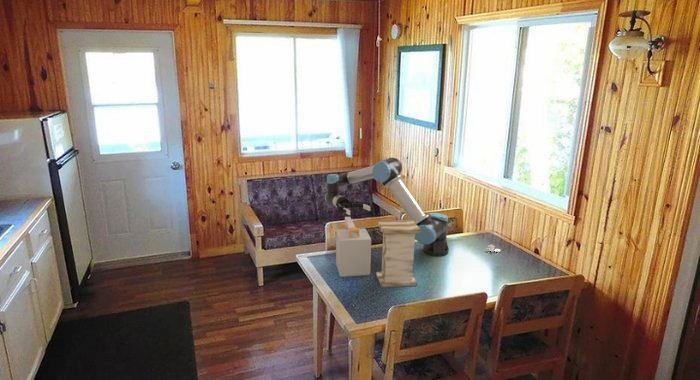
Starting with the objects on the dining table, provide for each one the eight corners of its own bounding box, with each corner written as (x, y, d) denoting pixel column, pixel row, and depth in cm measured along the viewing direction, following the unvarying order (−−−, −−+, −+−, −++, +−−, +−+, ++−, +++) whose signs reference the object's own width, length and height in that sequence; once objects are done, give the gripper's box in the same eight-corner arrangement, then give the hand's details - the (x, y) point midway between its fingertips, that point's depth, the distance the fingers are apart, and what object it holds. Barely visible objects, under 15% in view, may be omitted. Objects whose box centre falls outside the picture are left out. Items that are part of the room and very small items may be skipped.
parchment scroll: (375, 274, 236) (377, 221, 228) (409, 272, 239) (412, 219, 231) (382, 287, 223) (384, 230, 215) (417, 285, 226) (420, 229, 217)
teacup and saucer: (501, 251, 269) (502, 245, 268) (497, 256, 263) (498, 249, 262) (486, 248, 274) (487, 242, 273) (482, 252, 268) (483, 246, 267)
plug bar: (343, 221, 255) (343, 215, 254) (351, 221, 256) (351, 214, 255) (350, 237, 232) (350, 230, 231) (359, 237, 233) (359, 229, 232)
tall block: (364, 261, 251) (365, 228, 246) (370, 274, 236) (371, 239, 231) (335, 263, 249) (336, 229, 243) (339, 276, 233) (340, 240, 228)
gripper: (358, 205, 282) (377, 213, 265) (323, 211, 270) (341, 220, 252) (358, 193, 281) (377, 200, 263) (323, 199, 268) (341, 208, 251)
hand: (360, 210), depth 258 cm, fingers open, 13 cm apart
